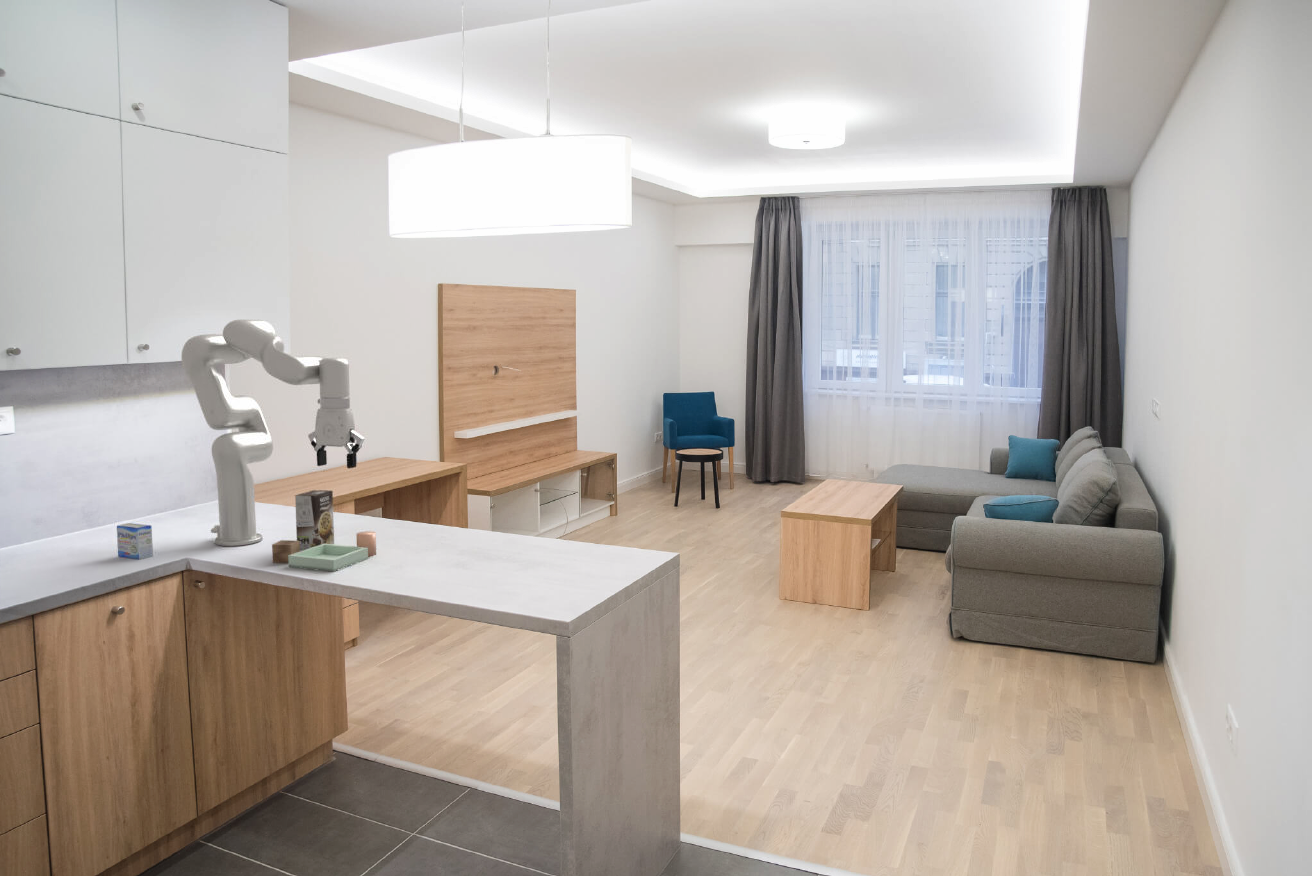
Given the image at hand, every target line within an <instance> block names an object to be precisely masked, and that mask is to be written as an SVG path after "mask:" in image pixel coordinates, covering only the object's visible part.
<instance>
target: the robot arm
mask: <svg viewBox="0 0 1312 876" xmlns="http://www.w3.org/2000/svg"><path fill="white" fill-rule="evenodd" d="M284 350H285V344H284V341H283V339H282V338H281V337H280V336H279V335H276V330H275V328H274V327H273V326H272V325H271V323H269V322H267V321H265V320H261V319H235V320H232V321H229V322H228V323H227V324H226V325H225V326H224V327H223V330H222V334H216V333H215V334H200V335H196V336H193V337H191V338H190V337H189V339H187V341H186V342H185V343H184V345H183V346H182V350H181V365H182V368H183V370H184V372H185V374H186V377H187V378H188V379H189V381H190V383H191V385H192V387H193V389H194V393H195V395H196V399H197V400H198V404H199V406H200V409H201V411H202V414H203V417H204V419H205V421H206V424H207V425H208V427H209V428H210V429H212V430H215V431H228V430H235V429H238V431H233V432H232V431H231V432H228V433H224V434H222V435H218V436H217V437H216V438H215V439H214V440H213V442H212V444H211V445H212V446H211V455H212V460H213V463H214V467H215V472H216V474H215V475H216V486H217V501H218V514H219V515H218V517H219V518H218V519H219V524H218V525H217V524H215V525H214V527H211V529H210V532H211V533H212V534H217V535H216V537H215V538H214V542H213V543H214V544H215V545H217V546H225V547H236V546H245V545H251V544H252V545H253V544H256V543H259V542H261V541H262V540H263V535H262V534H261V533H257V523H256V521H257V520H256V502H255V501H256V500H255V498H256V497H255V482H254V477H253V474H252V472H251V471H250V468H249V467H248V465H249V464H253V463H260V462H263V461H265V460H267V459H269V458H270V457H271V456H272V453H273V450H274V445H273V439H272V436H271V433H270V430H269V428H268V425H267V423H266V420H265V417H264V415H263V411H262V409H261V407H260V405H259V404H258V402H257V401H256V400H255V399H253V398H252V397H251V396H248V395H233V394H232V393H231V391H230V389H229V387H228V383H227V382H226V381H227V380H225V378H224V377H223V375H222V374H221V373H220V372H219V371H218V370H217V369H216V368H215V367H214V365H230V364H231V365H233V364H239V363H243V362H245V361H247V360H249V359H251V358H252V359H254V360H255V361H257V362H259V363H261V366H262V368H263V369H264V371H266V373H267V374H268V375H270V376H272V377H273V378H275V379H277V380H279V381H281V382H283V383H286V384H288V385H293V386H304V385H319V399H317V404H319V406H320V408H317V411H316V417H315V425H314V430H313V431H312V432H311V433H309V434H307V435H308V439H309V440H310V444H311V446H312V447H313V448H314V449H313V450H314V452H316V465H317V467H321V466H322V467H323V466H326V465H327V464H328V463H327V461H328V456H327V455H328V454H327V450H326V448H327V447H337V448H338V447H340V448H342V447H344V448H345V450H346V451H347V453H346V468H347V469H354V468H356V467H357V464H358V463H357V462H358V461H357V460H358V459H357V454H358V453H359V451H360V449H362V445H363V443H364V441H365V437H364V436H362V435H361V434H360V433H358V432H357V431H356V428H355V420H354V414H353V410H352V408H351V404H350V403H351V401H350V400H351V398H350V397H351V396H350V365H349V361H348V360H347V359H346V358H342V357H324V356H317V355H316V356H293V355H290V354H288V353H286V352H284Z"/></svg>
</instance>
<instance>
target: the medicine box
mask: <svg viewBox="0 0 1312 876" xmlns="http://www.w3.org/2000/svg"><path fill="white" fill-rule="evenodd" d="M152 530H153V527H152V525H149V524H140V523H133V522H131V523H130V522H129V523H122V524H118V525H116V541H117V544H116V545H117V556H118V557H119V558H123V559H125V558H126V559H131V560H132V559H133V560H142V559H143V560H144V559H147V558H150V557H153V556H154V550H153V549H154V547H153V545H154V544H153V531H152Z"/></svg>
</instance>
